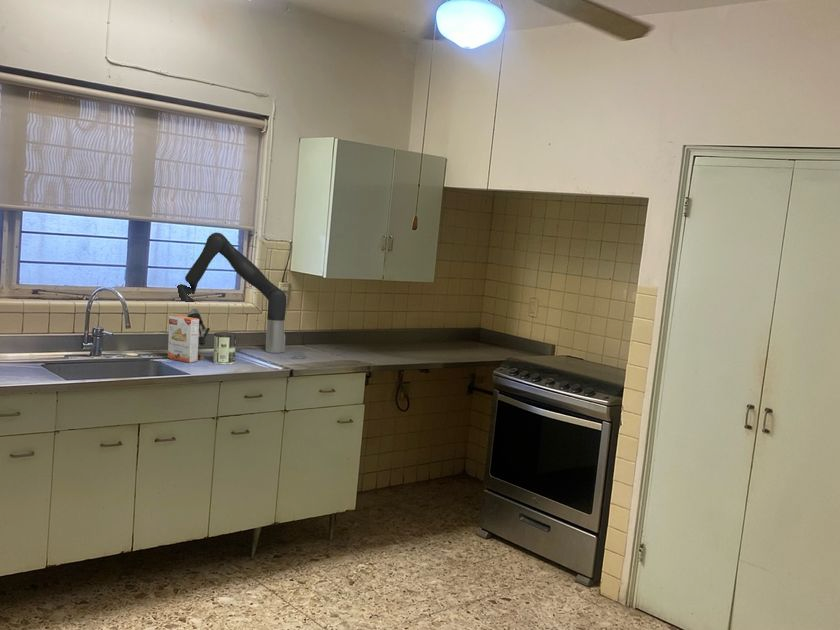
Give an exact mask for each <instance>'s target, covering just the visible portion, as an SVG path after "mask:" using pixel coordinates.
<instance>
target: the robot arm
mask: <svg viewBox="0 0 840 630" xmlns="http://www.w3.org/2000/svg"><path fill="white" fill-rule="evenodd" d="M218 254H220V255H221V256H223V257H224V258H225V259H226V260H227V262H228V263H229V264H230V266H231V267H232V269H233V270H234V271H235V272H236V274H237V275H239V277H240V278H242V279H243V280H244V281H245V282H246V283H248V284H249V285H251V286H252V287H254V288H255V289H257V290H258V291H259V292H260V293H261V294H262V295H263V296H264V297H265V298H266V300H267V301H268V303H267V316H266V331H265V332H266V335H265V352H266V353H270V354H273V353H274V354H282V353H285V352H286V339H287V338H286V335H287V334H286V333H285V324H286V323H285V322H286V312H287V310H286V309H287V296H286V293H285V292H284V290H282V289H281V288H279V287H278V286H277V285H275V284H274V283H273V282H271V281H270V280H269V279H268V277H266V276H265V275H264V273H263V272H262V271H261V270H260V269H259V268H258V267H257V266H256V265H255V264H254V263H253V262H252V261H251V260H250V259H249V258H247V257H246V256H245V255H244V254H243V253H242V252H240V251H239V250H238V249H237V248H236V247H234V245H233V244H232V243H231V242H230V241H229V240H228V238H227V237H226V236H225V235H224V234H223V233H220V232H213V233H211V234H210V235H209V236H208V237H207V239H206V242H205V244H204V246H203V249H202V251H201V253H200V255H199V256H198V258H197V259H196V260H195V262H194V263H193V264H192V266H191V267H190V269H189V270H188V272H187V274H186V275H185V277H184V280H185V281H186V283H189V284H190V286H191V288H190V287H187V285H186V284H183V283H179V284H180V285H178V286H177V288H178V293H179V297H180V298H181V300H182V301H185V302H195V300H194V299H193V297H192V298H190V297H189V296H188V295H189V294H191V293H192V294H194V295H195V294H196V291H197V290H196V289H197V287H198V283H199V282H200V281H201V279H202V278H203V276H204V275H205V272H206V271H207V269H208V267H209V265H210V264H211V262H212V261H213V259H214V258H215V257H216V256H217V255H218ZM187 294H188V295H187ZM195 303H196V302H195ZM197 309H198V308H197ZM197 309H192V310H191V311H190V312H189V313H188V316H187V317H191V318H197V319H199V338H198V345H200V346H204V345H205V343H206V340H205V339H206V337H207V335H208V334H209V331H210V330H211V328H210V327H206V326H205V325H204V322H203V319H202V316H201V314H200V311H199V309H198V310H197Z"/></svg>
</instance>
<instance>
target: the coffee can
mask: <svg viewBox="0 0 840 630" xmlns="http://www.w3.org/2000/svg"><path fill="white" fill-rule="evenodd" d="M213 335H214V336H213V337H214V339H213V343H214V344H213V364H217V365H233V364H235V363H236V341H237V333H235V332H229V331H218V332H214V333H213Z"/></svg>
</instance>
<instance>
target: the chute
mask: <svg viewBox="0 0 840 630" xmlns="http://www.w3.org/2000/svg"><path fill="white" fill-rule="evenodd" d="M198 359H199V361H203V360H204V354H202V353H199V352H198Z"/></svg>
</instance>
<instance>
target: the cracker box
mask: <svg viewBox="0 0 840 630" xmlns="http://www.w3.org/2000/svg"><path fill="white" fill-rule="evenodd" d="M168 318H169V319H168V342H167V345H168V346H167V359H168V358H170V359H169V360H172V359H174V361H177V360H178V361H179V362H182V363H187V364H191V363H196V362H198V353H199V342H198V338H199V319H197V318H191V317H185V316H184V315H180V314H179V315H177V314H176V315H169V317H168Z"/></svg>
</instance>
